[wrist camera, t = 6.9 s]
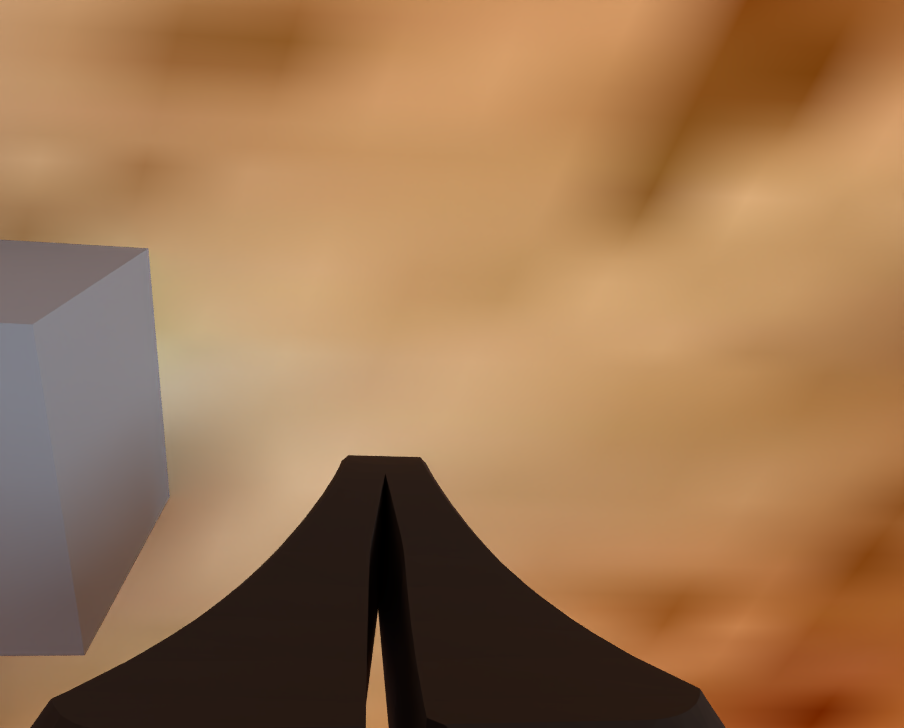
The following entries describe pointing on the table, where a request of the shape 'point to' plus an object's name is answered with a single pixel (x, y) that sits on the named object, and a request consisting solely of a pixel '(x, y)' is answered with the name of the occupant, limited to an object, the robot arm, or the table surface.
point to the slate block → (74, 438)
